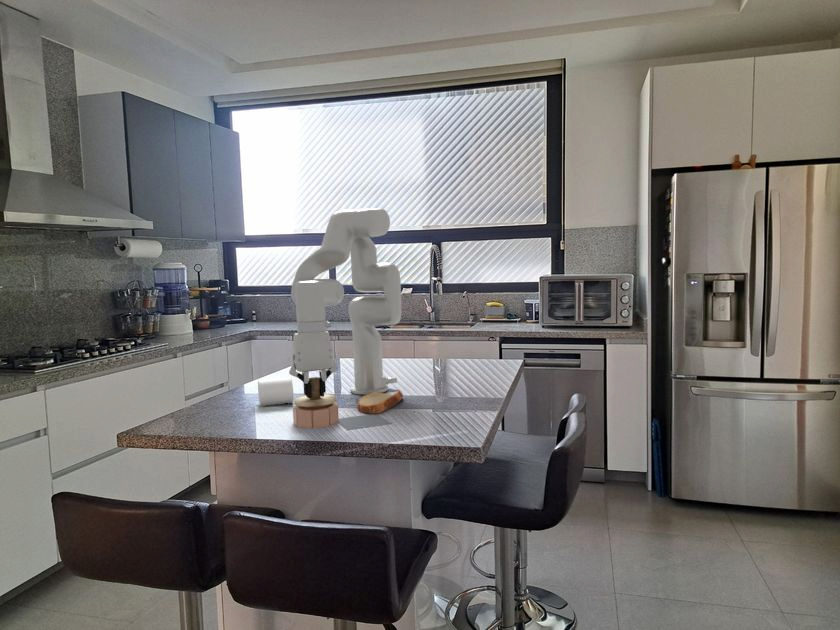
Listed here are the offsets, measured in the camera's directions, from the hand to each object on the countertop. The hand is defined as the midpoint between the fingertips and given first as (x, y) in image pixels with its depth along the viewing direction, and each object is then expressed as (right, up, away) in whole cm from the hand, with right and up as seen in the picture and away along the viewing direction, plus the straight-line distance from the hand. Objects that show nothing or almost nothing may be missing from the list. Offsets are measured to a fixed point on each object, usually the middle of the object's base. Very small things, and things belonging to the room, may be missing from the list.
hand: (315, 395), depth 154 cm
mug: (-17, -6, +28) cm, 33 cm away
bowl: (0, -8, +1) cm, 8 cm away
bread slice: (+17, -5, +18) cm, 25 cm away
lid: (0, -2, 0) cm, 2 cm away
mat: (+13, -7, 0) cm, 15 cm away
